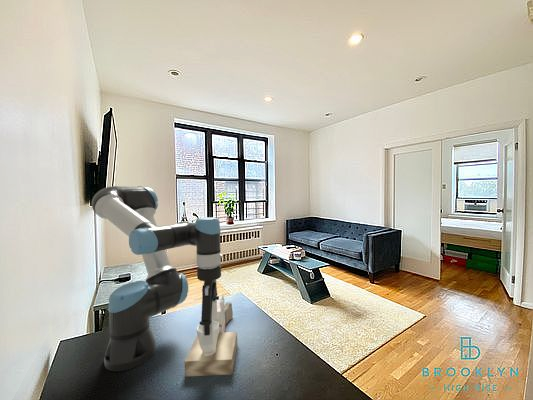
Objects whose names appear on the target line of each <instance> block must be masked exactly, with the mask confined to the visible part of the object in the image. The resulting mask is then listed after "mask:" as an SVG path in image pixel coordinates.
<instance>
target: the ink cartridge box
mask: <svg viewBox="0 0 533 400" xmlns="http://www.w3.org/2000/svg"><path fill="white" fill-rule="evenodd" d="M216 301H217V320H214V321H218V323H219V333H225V332H226V325H225V307H224V305H225V297H224V293H222V295H221V298H220V300H216Z"/></svg>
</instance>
